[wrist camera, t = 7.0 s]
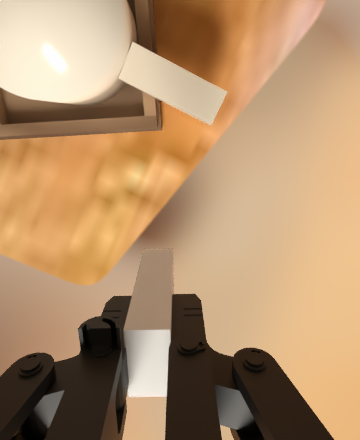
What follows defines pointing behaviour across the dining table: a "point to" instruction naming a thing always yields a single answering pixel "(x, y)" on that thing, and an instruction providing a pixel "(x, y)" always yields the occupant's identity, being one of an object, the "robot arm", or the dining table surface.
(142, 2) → the brown flat rectangular tray
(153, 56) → the white pot with handle
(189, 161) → the dining table surface
